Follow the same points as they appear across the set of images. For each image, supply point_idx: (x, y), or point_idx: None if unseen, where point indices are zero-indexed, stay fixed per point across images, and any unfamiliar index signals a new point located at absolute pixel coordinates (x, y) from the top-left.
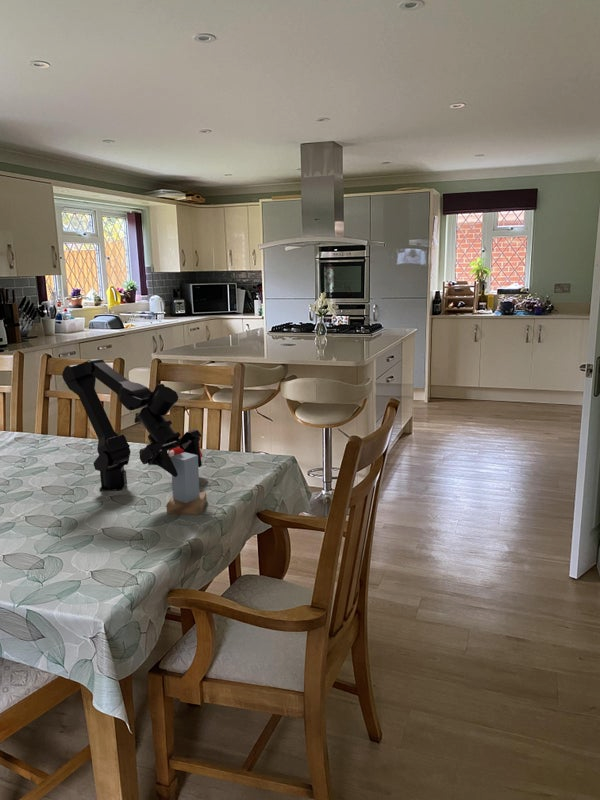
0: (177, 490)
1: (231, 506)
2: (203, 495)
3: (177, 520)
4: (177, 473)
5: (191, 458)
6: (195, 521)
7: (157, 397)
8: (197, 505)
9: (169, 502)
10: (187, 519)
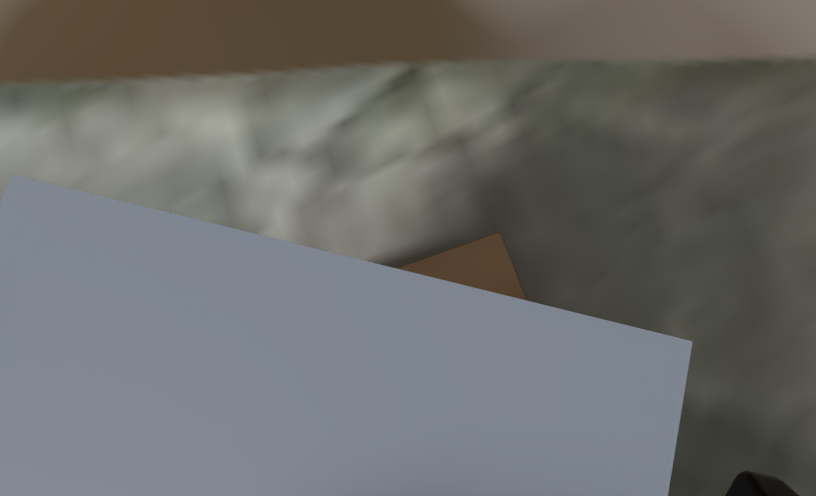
0: None
1: (268, 92)
2: None
3: (700, 380)
4: (760, 481)
5: (324, 254)
6: (652, 217)
7: None
8: (510, 261)
9: None
10: (644, 304)
